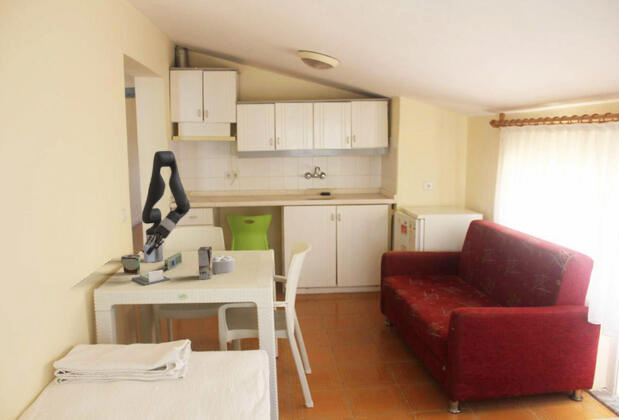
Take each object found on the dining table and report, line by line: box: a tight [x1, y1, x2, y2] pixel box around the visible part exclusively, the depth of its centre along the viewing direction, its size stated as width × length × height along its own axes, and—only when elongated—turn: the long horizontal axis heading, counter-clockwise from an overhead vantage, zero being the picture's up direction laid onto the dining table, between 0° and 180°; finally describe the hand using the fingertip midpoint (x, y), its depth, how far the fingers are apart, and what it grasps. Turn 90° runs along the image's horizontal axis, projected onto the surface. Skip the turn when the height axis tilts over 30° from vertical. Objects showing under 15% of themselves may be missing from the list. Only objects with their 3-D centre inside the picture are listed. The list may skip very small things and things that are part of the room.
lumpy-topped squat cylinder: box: [212, 254, 236, 275], centre depth 276 cm, size 10×13×9 cm
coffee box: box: [197, 246, 214, 280], centre depth 264 cm, size 9×6×16 cm
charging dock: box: [131, 269, 171, 286], centre depth 261 cm, size 16×14×6 cm
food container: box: [120, 254, 142, 275], centre depth 277 cm, size 12×6×10 cm, turn 71°
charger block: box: [142, 244, 155, 263], centre depth 260 cm, size 4×4×9 cm
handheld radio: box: [162, 252, 183, 273], centre depth 288 cm, size 7×3×25 cm
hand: (145, 253), depth 258 cm, fingers closed on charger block, 4 cm apart
